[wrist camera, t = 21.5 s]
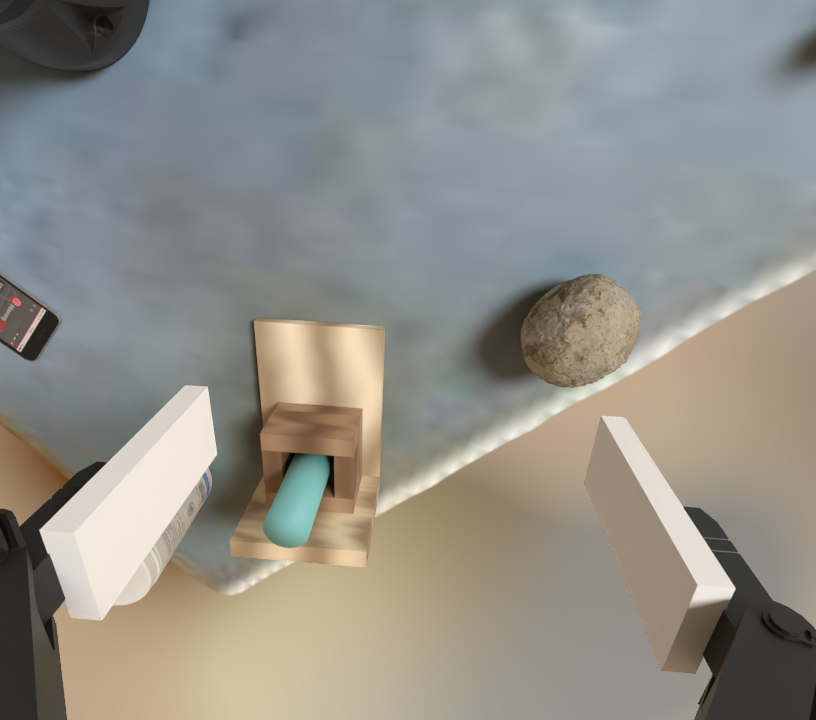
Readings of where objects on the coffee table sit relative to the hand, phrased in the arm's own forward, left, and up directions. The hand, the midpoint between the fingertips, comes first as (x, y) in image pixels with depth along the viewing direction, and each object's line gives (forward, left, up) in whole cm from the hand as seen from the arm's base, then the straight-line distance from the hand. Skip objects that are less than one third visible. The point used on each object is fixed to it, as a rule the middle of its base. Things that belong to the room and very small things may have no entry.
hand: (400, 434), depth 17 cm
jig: (-10, -18, -32) cm, 38 cm away
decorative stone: (+14, -6, -32) cm, 35 cm away
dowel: (-10, -22, -29) cm, 38 cm away
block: (-10, -22, -30) cm, 39 cm away
